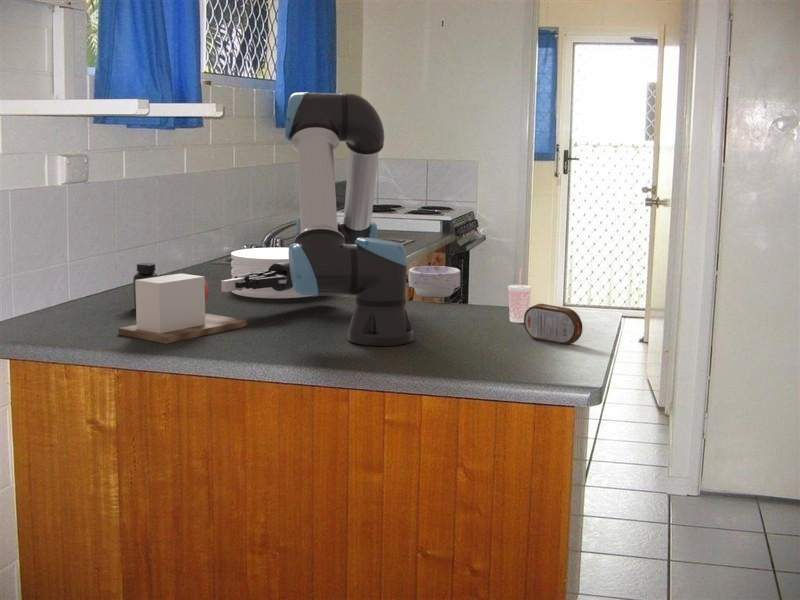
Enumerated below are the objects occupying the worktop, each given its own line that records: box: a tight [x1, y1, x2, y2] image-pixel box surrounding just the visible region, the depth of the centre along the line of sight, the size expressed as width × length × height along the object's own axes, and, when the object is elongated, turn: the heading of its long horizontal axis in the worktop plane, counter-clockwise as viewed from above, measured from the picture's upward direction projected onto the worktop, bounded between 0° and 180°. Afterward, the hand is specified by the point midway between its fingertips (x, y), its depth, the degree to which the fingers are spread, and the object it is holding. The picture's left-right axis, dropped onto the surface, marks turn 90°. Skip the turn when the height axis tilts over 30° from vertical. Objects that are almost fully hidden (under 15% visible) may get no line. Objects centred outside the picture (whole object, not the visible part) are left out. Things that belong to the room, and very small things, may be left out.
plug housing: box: [135, 273, 206, 333], centre depth 232 cm, size 14×8×12 cm, turn 145°
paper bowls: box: [408, 265, 461, 299], centre depth 291 cm, size 15×15×8 cm
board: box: [117, 312, 248, 345], centre depth 236 cm, size 26×16×2 cm, turn 145°
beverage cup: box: [507, 266, 533, 324], centre depth 254 cm, size 6×6×14 cm
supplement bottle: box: [132, 262, 160, 310], centre depth 263 cm, size 7×7×12 cm
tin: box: [523, 303, 583, 345], centre depth 230 cm, size 15×3×8 cm, turn 47°
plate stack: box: [230, 247, 313, 299], centre depth 296 cm, size 28×28×12 cm
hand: (223, 286), depth 245 cm, fingers closed
